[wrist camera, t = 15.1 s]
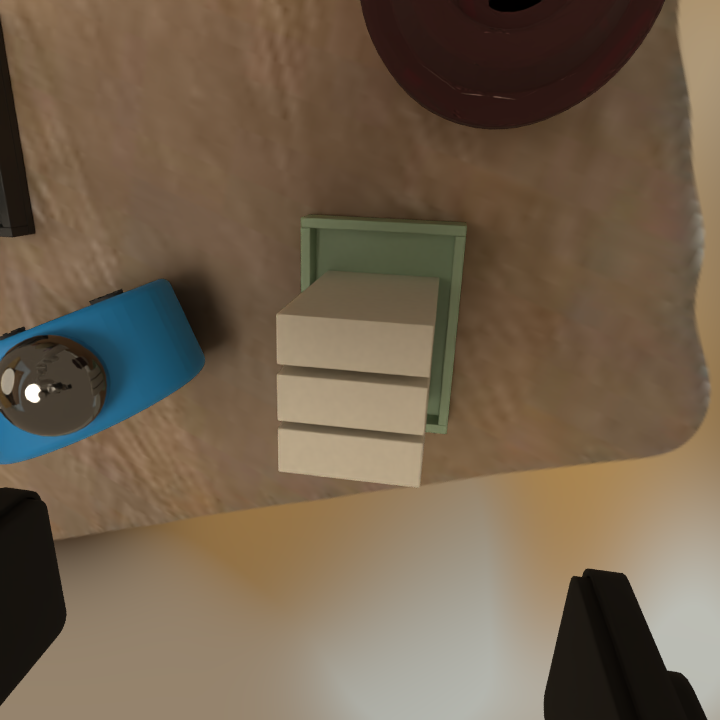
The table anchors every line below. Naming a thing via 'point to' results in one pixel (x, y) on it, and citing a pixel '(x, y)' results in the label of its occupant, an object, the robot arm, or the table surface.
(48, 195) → the table surface
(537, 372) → the table surface
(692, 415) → the table surface
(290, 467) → the white books
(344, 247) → the green tray
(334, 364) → the white box
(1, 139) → the grey tray
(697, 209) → the table surface
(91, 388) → the alarm clock
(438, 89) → the coffee cup
